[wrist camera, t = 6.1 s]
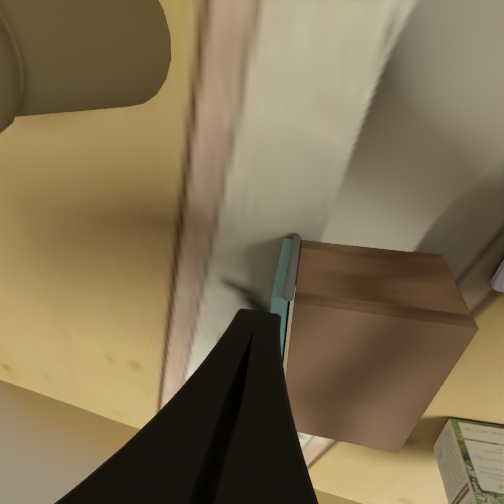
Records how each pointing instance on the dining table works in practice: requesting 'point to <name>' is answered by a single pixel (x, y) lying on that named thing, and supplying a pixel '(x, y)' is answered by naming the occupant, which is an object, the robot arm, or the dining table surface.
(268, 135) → the dining table surface
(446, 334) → the walnut cabinet
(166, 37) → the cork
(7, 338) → the dining table surface
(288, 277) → the teal door
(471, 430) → the syrup box
